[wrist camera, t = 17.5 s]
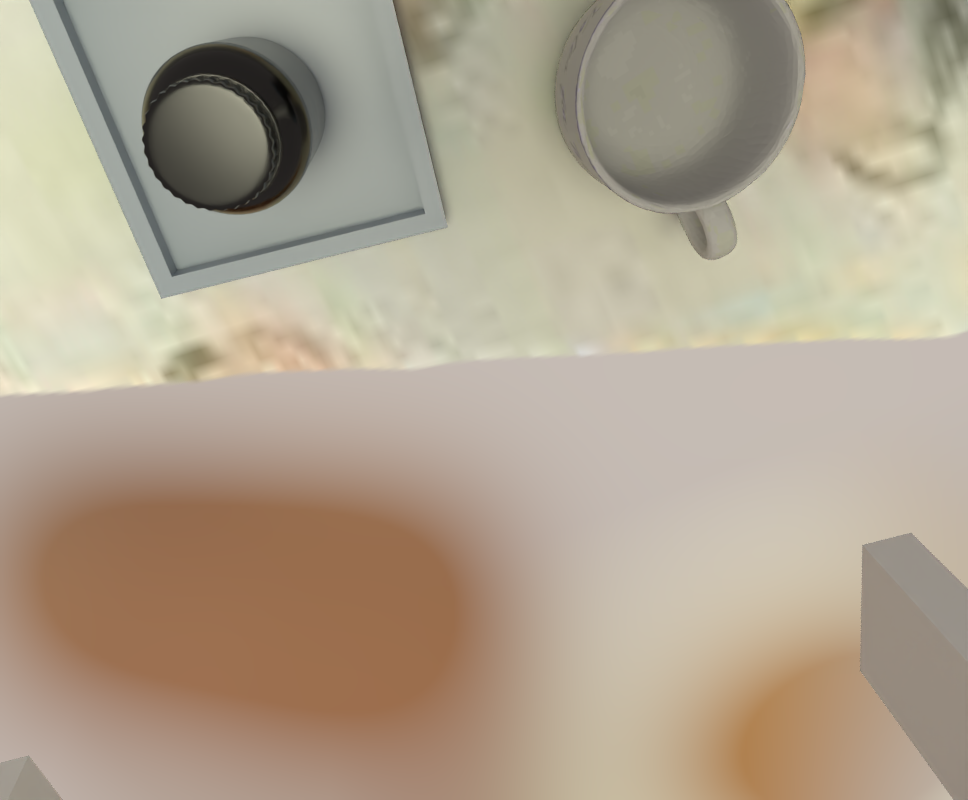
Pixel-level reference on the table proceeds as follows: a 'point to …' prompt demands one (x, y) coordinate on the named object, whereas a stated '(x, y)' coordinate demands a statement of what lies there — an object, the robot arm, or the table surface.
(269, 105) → the supplement bottle
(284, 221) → the tray
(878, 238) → the table surface
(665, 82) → the teacup
